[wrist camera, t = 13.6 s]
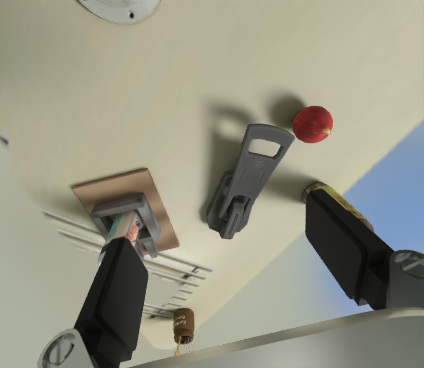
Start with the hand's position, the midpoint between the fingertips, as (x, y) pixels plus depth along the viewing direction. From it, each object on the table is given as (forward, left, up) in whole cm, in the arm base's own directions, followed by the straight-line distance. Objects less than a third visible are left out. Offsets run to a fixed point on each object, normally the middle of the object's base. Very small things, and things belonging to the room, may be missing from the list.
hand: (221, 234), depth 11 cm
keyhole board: (+17, -18, -28) cm, 38 cm away
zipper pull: (+14, +5, -29) cm, 32 cm away
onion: (+5, +18, -28) cm, 34 cm away
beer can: (+16, -18, -27) cm, 36 cm away
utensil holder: (+55, -18, -28) cm, 65 cm away
